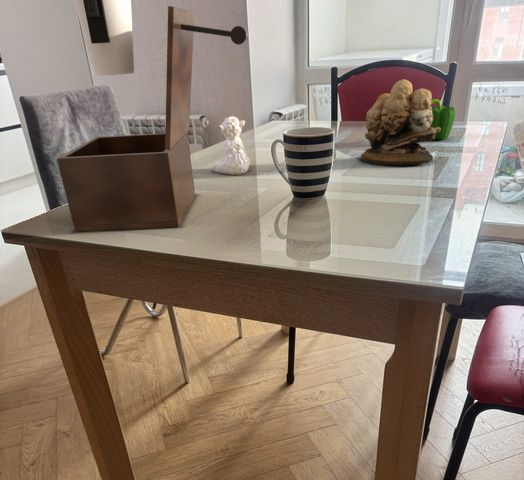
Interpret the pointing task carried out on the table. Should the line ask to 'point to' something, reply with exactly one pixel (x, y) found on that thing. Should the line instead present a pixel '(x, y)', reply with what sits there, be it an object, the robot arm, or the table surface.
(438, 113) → the bell pepper
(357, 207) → the table surface
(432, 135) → the owl figurine
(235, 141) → the white creature statuette
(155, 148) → the bin
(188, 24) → the bin lid
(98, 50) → the foam cup
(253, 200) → the table surface
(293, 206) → the table surface
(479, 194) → the table surface
